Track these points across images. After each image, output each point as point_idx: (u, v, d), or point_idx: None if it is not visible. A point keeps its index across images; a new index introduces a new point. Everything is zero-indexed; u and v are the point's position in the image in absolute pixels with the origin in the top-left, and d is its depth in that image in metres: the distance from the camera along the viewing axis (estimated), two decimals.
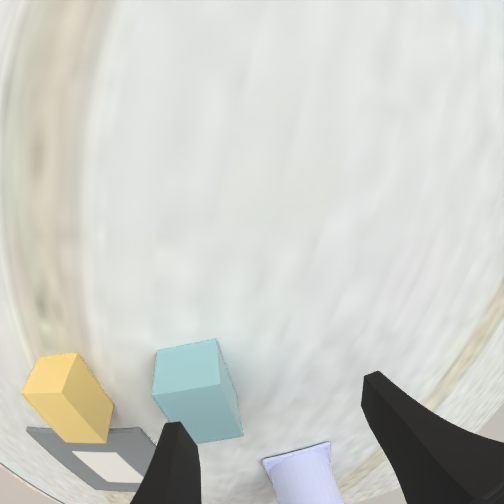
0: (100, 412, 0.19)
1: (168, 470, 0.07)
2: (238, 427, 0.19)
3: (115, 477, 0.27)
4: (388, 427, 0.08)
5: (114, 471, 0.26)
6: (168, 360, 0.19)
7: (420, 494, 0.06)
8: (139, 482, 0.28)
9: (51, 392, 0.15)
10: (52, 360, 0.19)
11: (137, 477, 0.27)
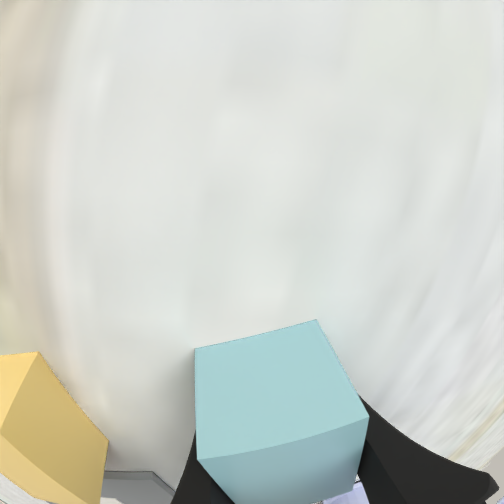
0: (85, 460, 0.09)
1: None
2: (352, 481, 0.08)
3: None
4: None
5: None
6: (225, 372, 0.09)
7: None
8: None
9: None
10: None
11: None
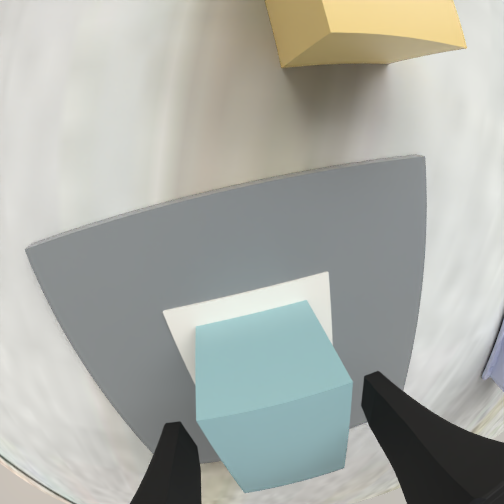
0: None
1: (168, 470, 0.07)
2: (343, 457, 0.10)
3: None
4: (388, 427, 0.08)
5: None
6: (222, 346, 0.10)
7: (420, 494, 0.06)
8: None
9: None
10: None
11: None
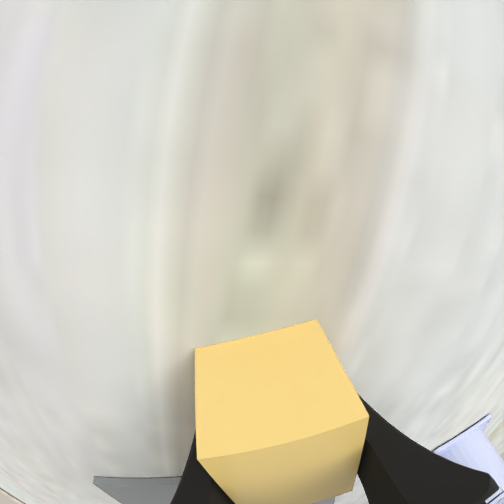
0: None
1: None
2: None
3: None
4: None
5: None
6: None
7: None
8: None
9: (330, 428, 0.06)
10: (250, 351, 0.10)
11: None
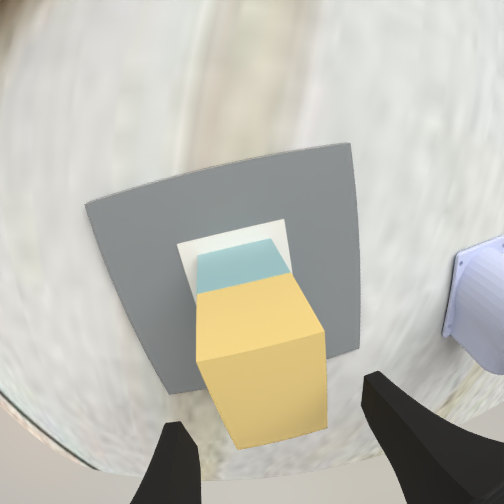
0: None
1: (168, 470, 0.07)
2: None
3: None
4: (388, 427, 0.08)
5: None
6: (214, 261, 0.16)
7: (420, 494, 0.06)
8: None
9: (294, 338, 0.10)
10: (238, 294, 0.13)
11: None
